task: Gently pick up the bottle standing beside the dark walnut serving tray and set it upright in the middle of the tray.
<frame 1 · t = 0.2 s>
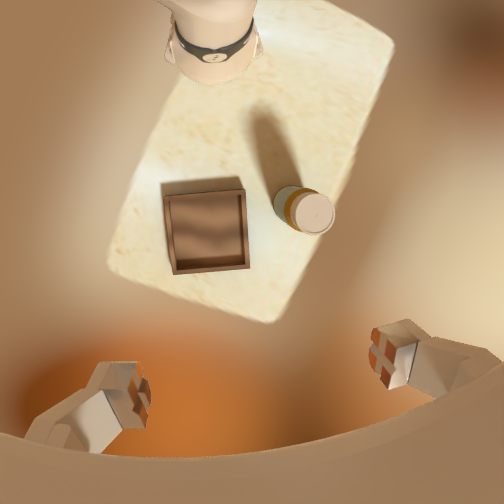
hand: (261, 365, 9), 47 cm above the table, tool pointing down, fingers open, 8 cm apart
serving tray: (207, 230, 55), on the table
bottle: (290, 203, 56), on the table
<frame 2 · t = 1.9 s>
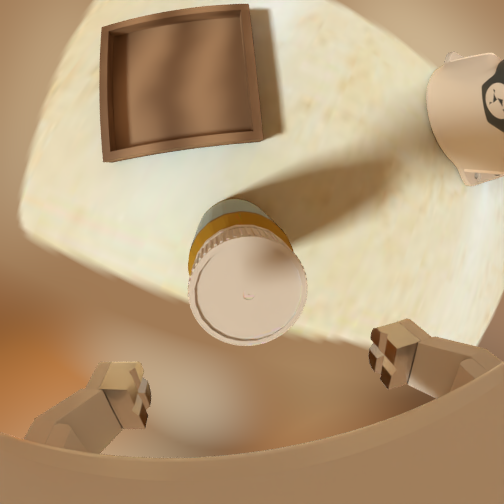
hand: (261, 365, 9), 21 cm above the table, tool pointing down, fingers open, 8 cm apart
serving tray: (177, 79, 24), on the table
bottle: (233, 233, 29), on the table
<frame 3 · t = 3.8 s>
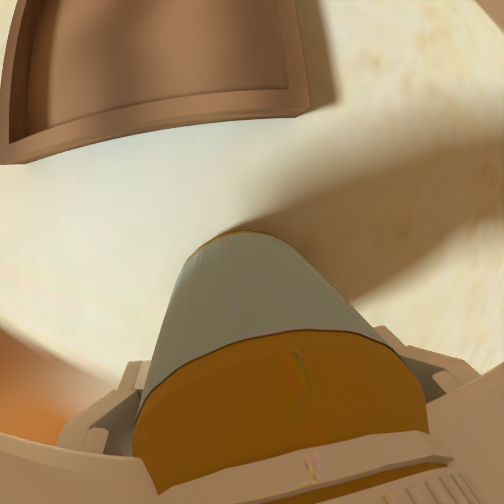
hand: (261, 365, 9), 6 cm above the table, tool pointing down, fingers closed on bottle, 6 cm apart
serving tray: (141, 11, 11), on the table
bottle: (243, 293, 15), on the table, touching gripper
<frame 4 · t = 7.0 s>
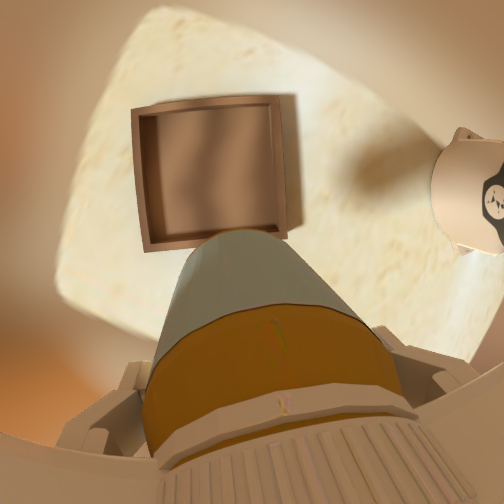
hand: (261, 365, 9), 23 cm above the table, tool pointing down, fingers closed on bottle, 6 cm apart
serving tray: (209, 171, 30), on the table
bottle: (241, 286, 17), point 15 cm above the table, touching gripper
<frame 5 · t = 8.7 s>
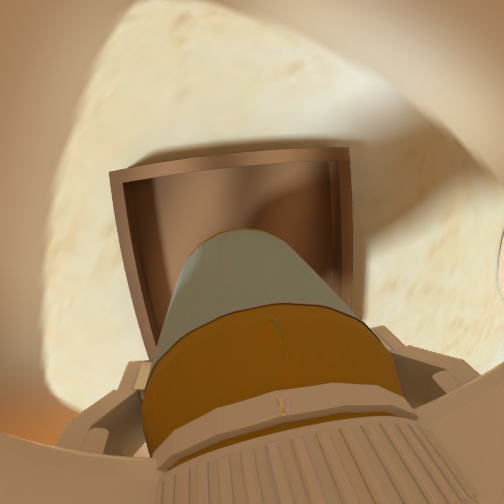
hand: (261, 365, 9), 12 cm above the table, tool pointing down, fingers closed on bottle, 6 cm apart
serving tray: (239, 262, 21), on the table
bottle: (241, 286, 17), point 4 cm above the table, touching gripper
when the fingers open (9 cm above the table, at t = 10.0 s): bottle stays where it is, resting on serving tray.
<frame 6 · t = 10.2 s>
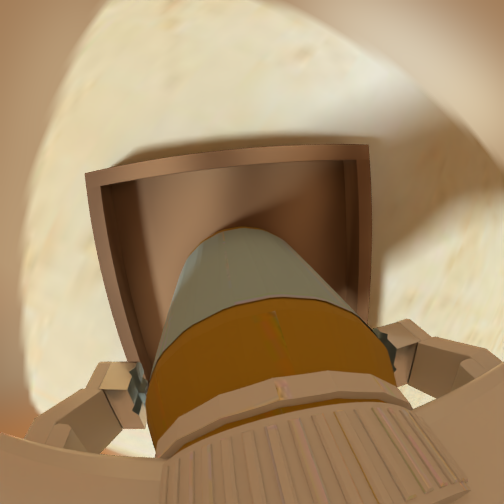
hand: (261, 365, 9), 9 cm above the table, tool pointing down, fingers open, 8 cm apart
serving tray: (239, 278, 18), on the table
bottle: (241, 283, 17), point 1 cm above the table, touching serving tray
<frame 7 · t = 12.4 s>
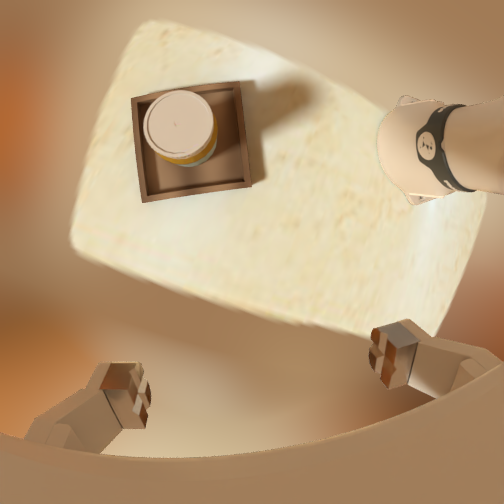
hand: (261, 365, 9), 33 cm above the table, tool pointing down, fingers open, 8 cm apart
serving tray: (190, 141, 38), on the table
bottle: (190, 141, 37), point 1 cm above the table, touching serving tray
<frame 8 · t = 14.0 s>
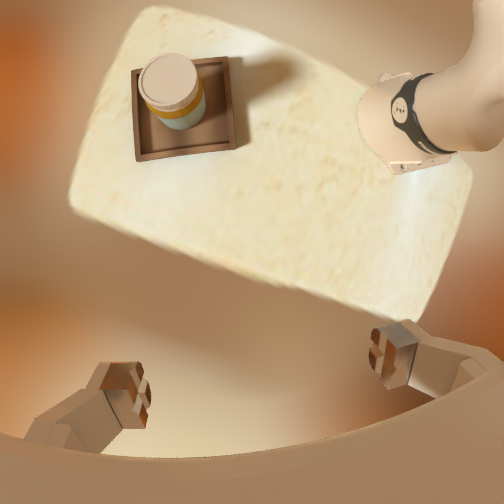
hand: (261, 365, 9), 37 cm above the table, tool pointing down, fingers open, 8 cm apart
serving tray: (182, 109, 40), on the table
bottle: (182, 108, 39), point 1 cm above the table, touching serving tray
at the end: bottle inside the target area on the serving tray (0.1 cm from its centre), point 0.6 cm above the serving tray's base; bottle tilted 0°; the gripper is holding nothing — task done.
